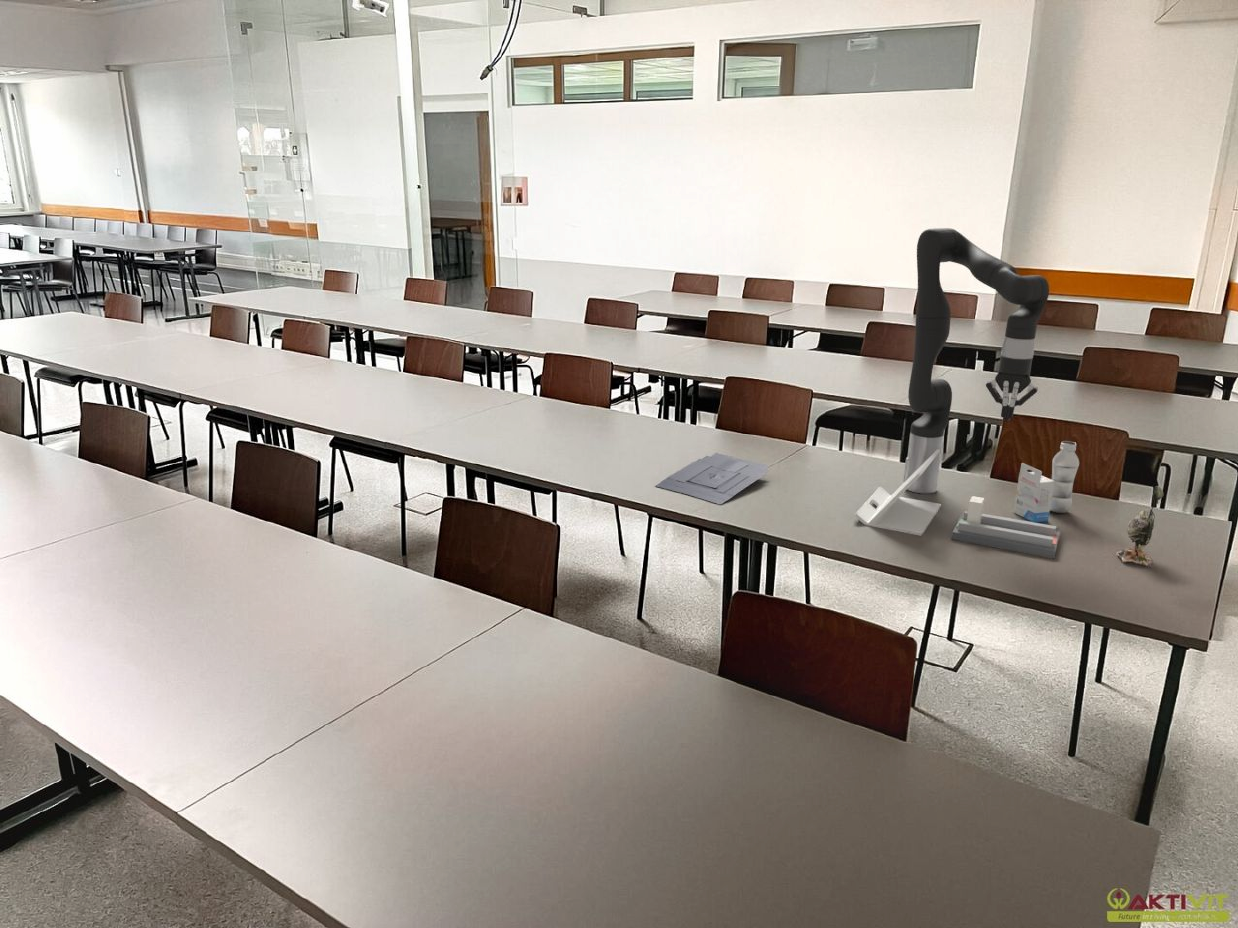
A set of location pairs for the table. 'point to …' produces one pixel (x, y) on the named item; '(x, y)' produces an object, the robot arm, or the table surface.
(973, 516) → the white rectangular block
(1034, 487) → the ink box
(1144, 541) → the plant with pod
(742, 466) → the papers
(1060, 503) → the plastic bottle
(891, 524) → the tablet stand
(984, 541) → the switch panel
